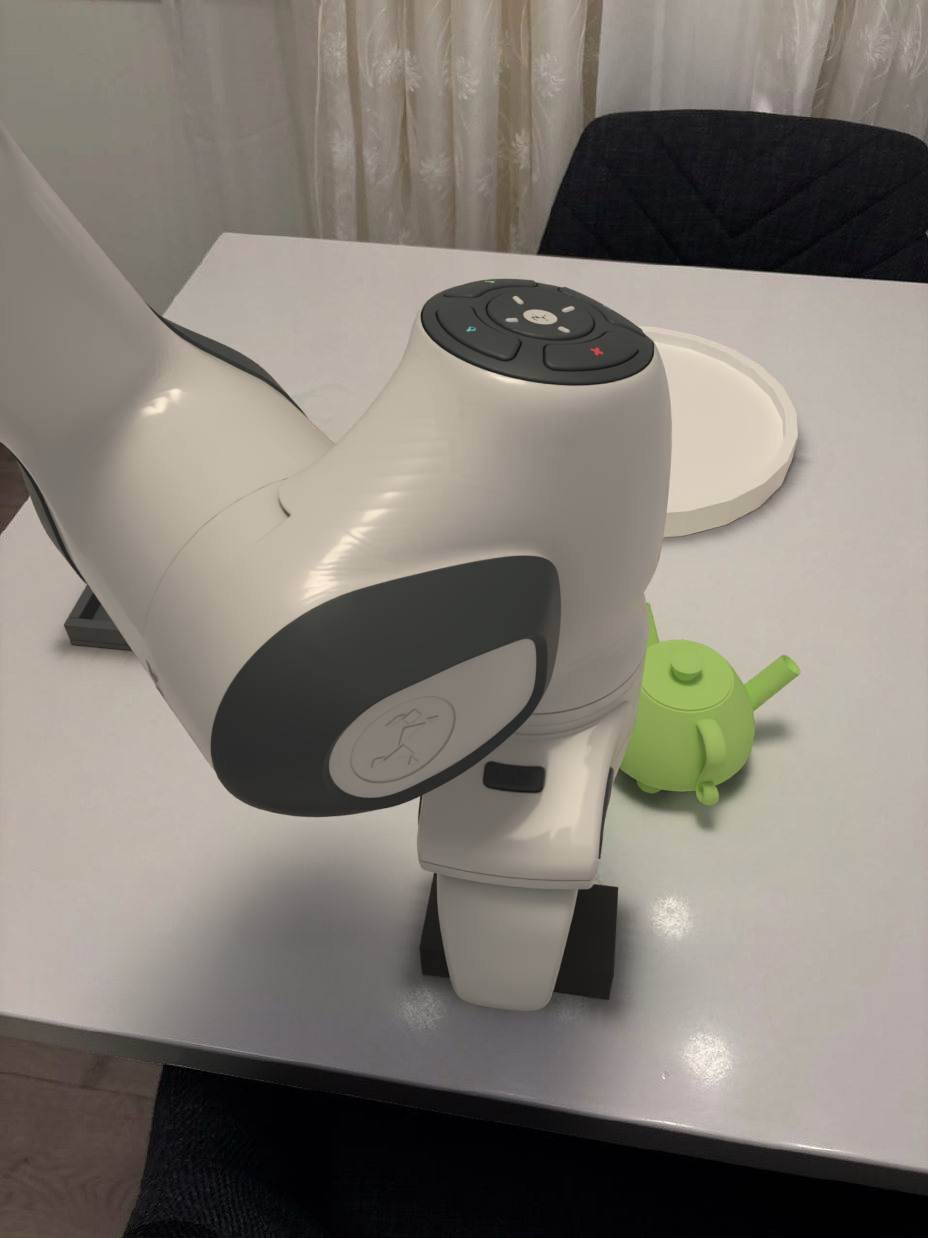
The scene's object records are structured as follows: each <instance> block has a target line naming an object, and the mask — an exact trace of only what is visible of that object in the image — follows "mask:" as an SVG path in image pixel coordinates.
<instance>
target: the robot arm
mask: <svg viewBox="0 0 928 1238" xmlns="http://www.w3.org/2000/svg"><path fill="white" fill-rule="evenodd" d="M638 326H639V325H636V324H635V323H634V322H632V321H631V320H630V319H628V318H627V317H626V316H624V315H622V314H621V313H620V312H619V313H618V312H617V311H615V310H614V309H613V308H610V307H608V306H607V305H605V304H603V303H601V302H600V301H598V300H596V299H594V298H593V297H592V298H591V297H590V296H588V295H586V294H585V293H582V292H579V291H577V290H574V289H572V288H570V287H567V286H558V285H554V284H548V283H543V282H538V281H535V280H533V279H526V278H525V279H523V278H489V279H481V280H475V281H470V282H466V283H463V284H459V285H456V286H452V287H449V288H446V289H444V290H442V291H439V292H438V293H435V294H434V295H432V296H431V297H430V298H428V299H427V300H426V301H425V302H424V303H422V305H421V307H420V308H419V309H418V311H417V313H416V315H415V318H414V320H413V323H412V326H411V330H410V333H409V337H408V340H407V344H406V346H405V348H404V349H405V350H404V353H403V355H402V358H401V359H400V361H399V363H398V365H397V367H396V369H395V370H394V371H393V373H392V375H391V377H390V378H389V379H388V381H387V382H386V384H385V385H384V386H383V388H382V390H380V392H379V393H378V395H377V396H376V397H375V399H374V400H373V402H372V403H371V404H370V406H369V407H368V408H367V409H366V410H365V412H363V414H362V415H361V416H360V418H359V419H358V420H357V421H356V422H355V423H354V424H353V425H352V426H351V427H350V428H349V429H348V431H347V432H345V433H344V435H343V436H341V438H340V439H338V441H337V442H336V443H335V442H334V441H333V440H332V439H331V438H330V437H329V436H328V435H326V434H325V433H324V431H322V430H321V429H320V428H319V427H318V426H317V425H316V424H315V423H314V422H313V421H311V420H310V419H309V417H308V416H307V414H306V413H305V412H304V411H303V410H302V408H301V407H300V406H299V405H298V404H297V403H296V402H295V401H294V400H293V398H292V397H291V396H290V395H289V394H288V393H287V391H286V390H285V389H283V387H282V386H281V385H280V384H279V383H278V382H277V380H275V378H274V377H273V376H272V375H271V374H270V373H269V372H268V371H267V370H266V369H265V368H263V367H262V365H260V364H259V363H257V362H255V361H254V360H253V359H251V358H250V357H249V356H246V355H245V354H244V353H242V352H241V351H238V350H237V349H234V348H232V347H231V346H228V345H226V344H224V343H221V342H219V341H217V340H215V339H213V338H210V337H208V336H205V335H203V334H201V333H199V332H196V331H194V330H191V329H189V328H187V327H184V326H182V325H180V324H177V323H176V322H174V321H172V320H171V319H168V318H166V317H164V316H162V315H161V314H159V313H157V311H156V310H155V309H154V308H152V306H151V305H150V304H148V303H147V302H146V301H145V300H144V299H143V298H142V296H141V295H140V294H139V293H138V291H136V290H135V288H134V286H132V284H131V283H130V282H129V281H128V280H127V278H126V277H125V276H124V275H123V273H122V272H121V271H120V270H119V268H118V267H117V266H116V265H115V263H113V261H112V260H111V259H110V257H109V256H108V255H107V254H106V253H105V251H104V250H103V249H102V248H101V246H100V245H99V244H98V243H97V242H96V241H95V239H94V238H93V236H92V235H91V234H90V233H89V231H87V229H86V228H85V227H84V226H83V224H81V222H80V221H79V220H78V218H77V217H76V216H75V214H74V213H73V212H72V211H71V210H70V208H69V207H68V206H67V205H66V204H65V203H64V201H63V200H62V199H61V198H60V197H59V195H58V194H57V193H56V192H55V191H54V189H53V188H52V187H51V185H49V183H48V182H47V180H46V179H45V178H44V177H43V176H42V174H41V173H40V172H39V171H38V169H37V168H36V167H35V166H34V165H33V164H32V162H31V161H30V159H28V157H27V156H26V154H25V153H24V152H23V151H22V149H21V148H20V147H19V145H18V144H17V142H16V141H15V139H14V138H13V137H12V135H11V133H10V132H9V130H8V129H7V127H6V126H5V124H4V122H3V121H2V119H1V118H0V443H1V444H2V445H4V446H5V448H6V449H7V450H8V451H9V452H10V454H11V455H12V456H13V458H14V459H15V461H16V464H17V467H18V469H19V470H20V471H19V472H20V473H21V475H22V478H23V481H24V484H25V486H26V489H27V492H28V495H29V497H30V500H31V503H32V505H33V508H34V510H35V513H36V515H37V517H38V520H39V522H40V524H41V526H42V528H43V530H44V531H45V533H46V535H47V536H48V538H49V539H50V541H51V543H52V544H53V545H54V547H55V548H56V550H57V551H58V552H59V553H60V555H62V557H63V558H64V559H65V560H66V562H67V564H69V565H70V567H71V568H72V570H74V572H75V574H76V575H78V577H79V579H81V581H82V582H83V583H84V584H86V586H87V585H88V586H89V587H90V588H91V590H92V591H93V593H94V594H95V596H96V597H97V599H98V600H99V601H100V603H101V604H102V606H103V607H104V609H105V610H106V612H107V613H108V615H109V616H110V618H111V619H112V621H113V622H114V624H115V625H116V627H117V628H118V630H119V631H120V633H121V634H122V636H123V637H124V639H125V640H126V642H127V643H128V645H129V646H130V648H131V649H132V650H131V651H132V652H133V654H134V655H135V657H136V658H137V659H138V661H139V663H140V664H141V666H142V668H143V669H144V670H145V672H146V674H148V676H149V677H150V679H151V680H152V682H153V683H154V685H155V688H156V689H157V691H158V693H159V694H160V695H161V697H162V698H163V699H164V701H165V703H166V704H167V706H168V707H169V709H170V710H171V711H172V712H173V714H174V715H175V717H176V718H177V720H178V721H179V723H180V724H181V726H182V727H183V729H184V730H185V731H186V733H187V734H188V736H189V737H190V738H191V740H192V741H193V743H194V745H195V746H196V747H197V749H198V750H199V752H200V753H201V755H202V756H203V758H204V760H206V762H207V763H208V764H209V766H210V767H211V768H212V770H213V771H214V772H215V774H216V777H217V779H218V780H219V782H220V783H221V785H222V786H223V787H224V789H225V790H227V792H229V794H230V795H232V796H233V797H234V798H236V799H237V800H238V801H240V802H242V803H243V804H245V805H248V806H250V807H252V808H255V809H258V810H262V811H265V812H269V813H271V814H272V813H273V814H279V815H284V816H289V817H296V818H297V817H299V818H331V817H345V816H351V815H352V816H353V815H358V814H363V813H368V812H374V811H375V812H376V811H380V810H385V809H390V808H394V807H397V806H400V805H403V804H406V803H409V802H410V801H413V800H417V799H418V798H419V802H418V812H417V832H416V833H417V834H416V851H417V859H418V863H419V865H420V868H421V869H422V870H423V871H425V872H429V873H433V874H434V873H437V903H438V914H439V922H440V929H441V935H442V940H443V946H444V951H445V957H446V961H447V966H448V970H449V975H450V978H449V980H450V983H451V986H452V989H453V991H454V992H455V994H456V996H457V997H458V998H459V999H460V1000H462V1001H464V1002H466V1003H469V1004H473V1005H477V1006H481V1007H486V1008H492V1009H500V1010H507V1011H517V1012H519V1011H520V1012H535V1011H539V1010H542V1009H544V1008H546V1006H547V1005H548V1004H549V1002H550V1000H551V998H552V996H553V993H554V992H553V990H554V987H555V983H556V979H557V976H558V972H559V969H560V965H561V961H562V957H563V953H564V949H565V945H566V941H567V937H568V933H569V929H570V925H571V921H572V917H573V912H574V908H575V903H576V898H577V893H578V889H590V888H591V887H592V886H593V885H594V884H596V881H597V874H598V866H599V860H600V859H601V858H602V850H603V849H602V848H603V840H604V830H605V823H606V817H607V813H608V808H609V805H610V801H611V795H612V790H613V784H614V781H615V779H616V777H617V774H618V772H619V770H620V765H621V763H622V760H623V758H624V755H625V752H626V749H627V746H628V742H629V739H630V737H631V735H632V733H633V730H634V728H635V724H636V721H637V715H638V708H639V702H640V695H641V688H642V681H643V673H644V666H645V659H646V653H647V647H648V639H649V612H648V607H647V603H648V602H647V598H646V596H645V592H646V590H647V588H648V586H649V585H650V583H651V581H652V579H653V577H654V575H655V573H656V571H657V568H658V565H659V561H660V558H661V553H662V549H663V542H664V541H663V540H664V537H663V536H664V529H665V522H666V513H667V505H668V496H669V486H670V473H671V456H672V413H671V401H670V393H669V386H668V380H667V376H666V372H665V367H664V364H663V361H662V359H661V356H660V353H659V351H658V349H657V347H656V345H655V343H654V342H653V341H652V340H651V339H650V338H649V337H648V336H647V335H646V334H644V333H643V331H642V329H641V328H639V327H638Z"/></svg>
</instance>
